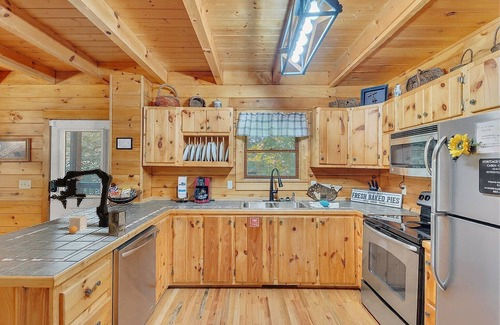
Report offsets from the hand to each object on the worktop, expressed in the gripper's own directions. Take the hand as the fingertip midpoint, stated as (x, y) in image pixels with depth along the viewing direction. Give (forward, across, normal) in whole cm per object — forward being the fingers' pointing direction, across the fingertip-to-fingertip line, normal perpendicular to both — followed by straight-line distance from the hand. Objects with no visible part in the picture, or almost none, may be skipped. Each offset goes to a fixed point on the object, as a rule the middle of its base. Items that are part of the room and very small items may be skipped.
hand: (71, 207), depth 198 cm
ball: (+11, +12, +21) cm, 27 cm away
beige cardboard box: (+14, +3, +13) cm, 19 cm away
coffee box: (+15, -2, +47) cm, 49 cm away
